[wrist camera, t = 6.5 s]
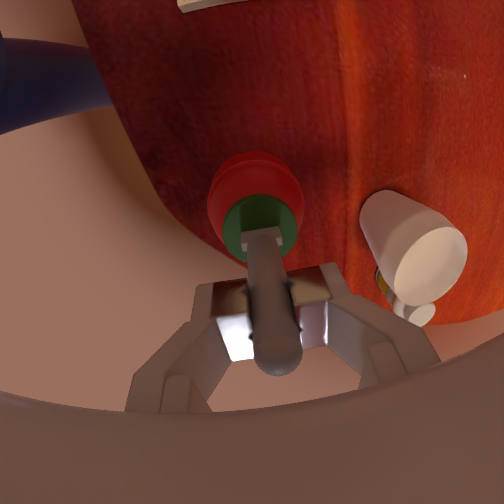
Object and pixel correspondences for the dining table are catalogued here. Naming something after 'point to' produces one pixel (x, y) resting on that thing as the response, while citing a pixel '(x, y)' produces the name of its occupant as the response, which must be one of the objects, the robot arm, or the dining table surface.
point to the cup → (412, 247)
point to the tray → (201, 4)
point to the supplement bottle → (410, 313)
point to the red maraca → (262, 247)
